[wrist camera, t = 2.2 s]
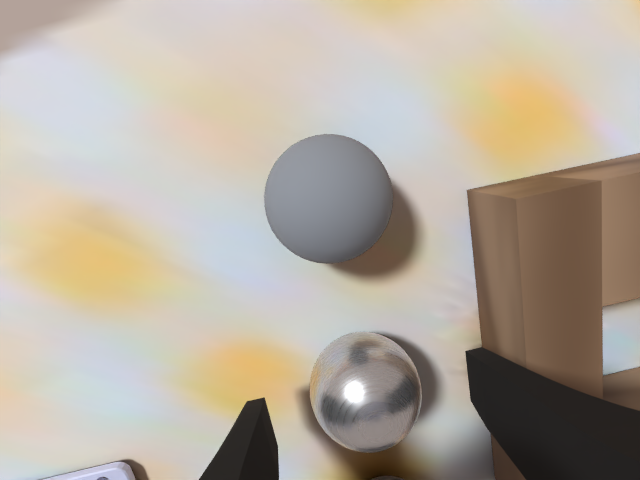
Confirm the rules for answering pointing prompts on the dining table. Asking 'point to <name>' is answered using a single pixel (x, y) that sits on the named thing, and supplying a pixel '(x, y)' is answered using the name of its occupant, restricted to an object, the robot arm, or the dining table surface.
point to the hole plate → (558, 274)
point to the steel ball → (365, 392)
